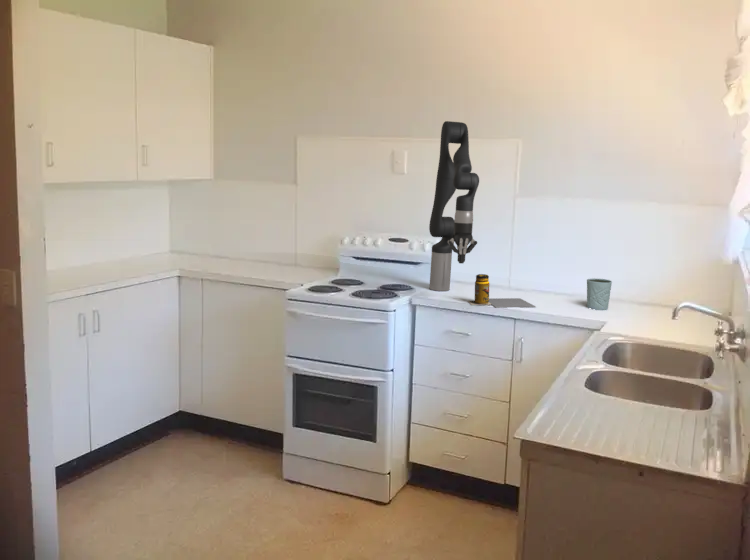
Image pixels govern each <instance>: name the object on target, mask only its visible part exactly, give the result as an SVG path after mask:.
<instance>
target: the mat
mask: <svg viewBox="0 0 750 560" xmlns="http://www.w3.org/2000/svg"><path fill="white" fill-rule="evenodd" d="M489 303H491V304H490V306H492V307H493V308H496V309H497V308H498V309H499V308H501V309H504V308H505V309H506V308H507V307H520V308H537V306H536V305H533V304H532V303H530V302H528V301H526V300H524V299H522V298H519V297H518V298H515V297H514V298H512V297H511V298H509V297H508V298H501V297H500V298H498V297H497V298H492V297H491V298H490V297H489Z"/></svg>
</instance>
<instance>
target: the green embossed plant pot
mask: <svg viewBox="0 0 750 560" xmlns="http://www.w3.org/2000/svg"><path fill="white" fill-rule="evenodd" d="M612 283H613V281H612V280H610V279H605V278H595V277H594V278H593V277H592V278H588V279H586V308H587V307H588V308H587V309H589V308H591V309H590V310H593V309H595V311H607V310H608V309H609V304H610V297H611V290H612Z"/></svg>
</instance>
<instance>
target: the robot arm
mask: <svg viewBox="0 0 750 560" xmlns="http://www.w3.org/2000/svg"><path fill="white" fill-rule="evenodd" d="M468 129H469V128H468V125H467V124H466V123H465V122H460V121H448V120H447V121H446V120H445V121H444V122H443V123H442V125H441V130H440V131H441V132H440V148H439V158H438V166H437V173H436V181H435V190H434V192H435V193H434V198H433V199H434V200H433V204H432V205H433V206H432V209H431V214H430V219H429V226H428V230H429V233H430V236H431V237H433V238H441V239H440V240H439V242H436V243H434V244H433V245H432V247H431V256H430V274H429V275H430V276H429V290H431V291H439V292H446V291H447V292H448V291H450V288H451V275H452V274H451V272H452V258H453V257H452V255H453V252H454V253H456V254H457V262H458V264H464V263H465V262H466V254H470V253H471V252H472V250H473V249H474V248H475V247H476V245H478V241H477V240H475V239H474V236H473V226H474V223H473V222H474V200H475V197H476V193H477V190H478V187H479V184H480V177H479V175H478V173H476V172H472V171H473V167H472V163H471V158H470V143H469V142H470V141H469V130H468ZM449 144H455V145H456V144H457V145H459V144H460V145H459V147H458V148H457V149H456V151H455V152H454V154H453V156H452V157H453V158H452V157H451V154H450V146H449ZM456 190H462V191H468V192H467V193H466V194H462V195H459V196H457V197H456V199H455V201H456V202H455V212H454V213H455V214H454V218H453V217H452V216H443V214H444V210H445V207H447V206H446V205H447V204H448V202H449V201H450V200H451V198H453V195H454V194H455V192H456ZM455 245H456V246H455Z"/></svg>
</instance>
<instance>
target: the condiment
mask: <svg viewBox="0 0 750 560" xmlns="http://www.w3.org/2000/svg"><path fill="white" fill-rule="evenodd" d="M489 278H490V277H489V275H488V274H483V273H479V274H476V275H475V282H474V300H467V302H468V303H469V304H470V305H471V306H476V305H477V306H478V305H482V306H483V305H484V306H486V305H487V306H488V305H490V304H491V303H489V299H490V281H489ZM490 306H491V305H490Z"/></svg>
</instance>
